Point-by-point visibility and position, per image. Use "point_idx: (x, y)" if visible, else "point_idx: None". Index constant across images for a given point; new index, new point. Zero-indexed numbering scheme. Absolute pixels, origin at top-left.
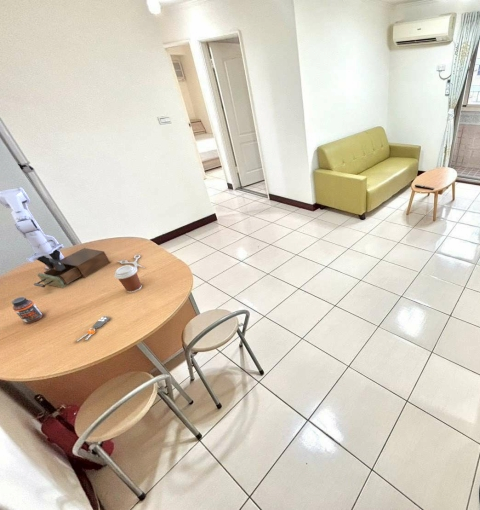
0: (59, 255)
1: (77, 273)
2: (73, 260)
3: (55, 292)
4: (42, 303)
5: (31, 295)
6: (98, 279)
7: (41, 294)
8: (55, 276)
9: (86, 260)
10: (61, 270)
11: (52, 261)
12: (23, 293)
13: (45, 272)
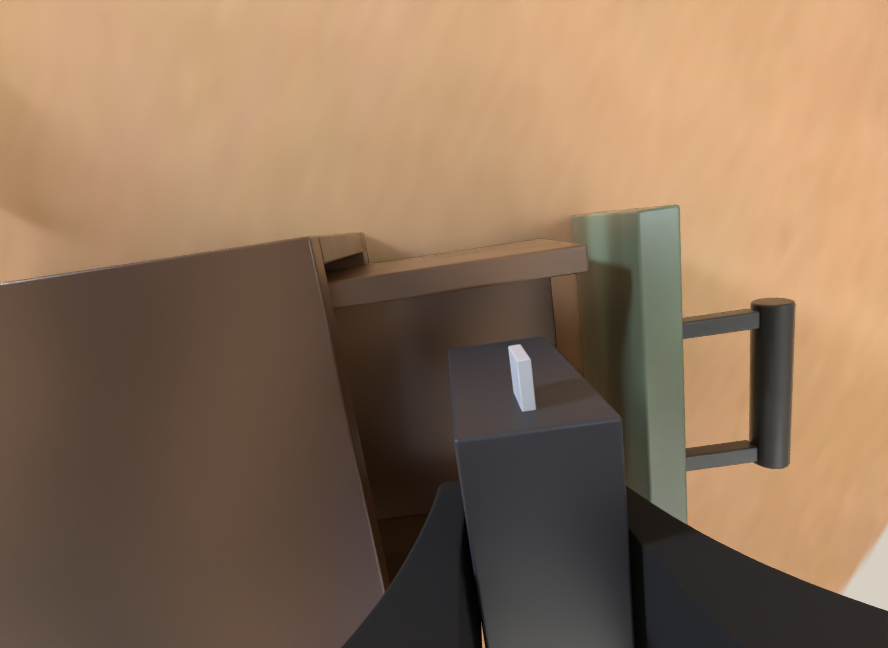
0: (350, 642)
1: (382, 266)
2: (248, 500)
3: None
4: (837, 152)
5: None
6: (303, 17)
7: (727, 345)
8: (642, 294)
9: (117, 280)
10: None
11: (588, 561)
12: (762, 519)
13: None
